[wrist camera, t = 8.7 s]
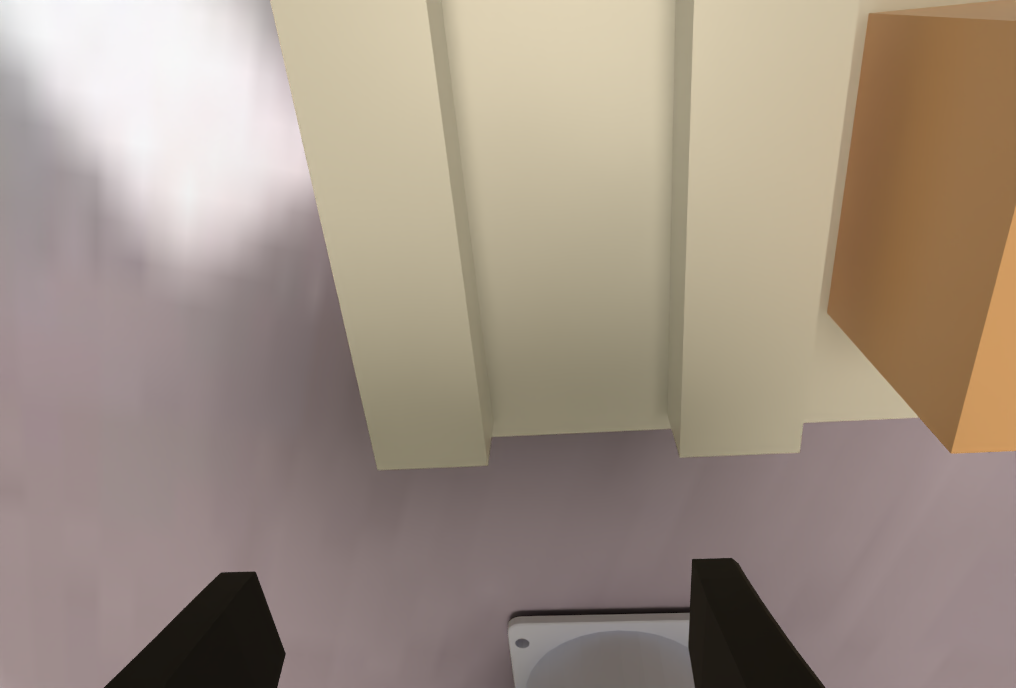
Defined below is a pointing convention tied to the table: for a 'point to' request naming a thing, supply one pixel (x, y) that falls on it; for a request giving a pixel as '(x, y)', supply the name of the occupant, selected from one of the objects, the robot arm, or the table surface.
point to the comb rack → (586, 215)
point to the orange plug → (936, 218)
